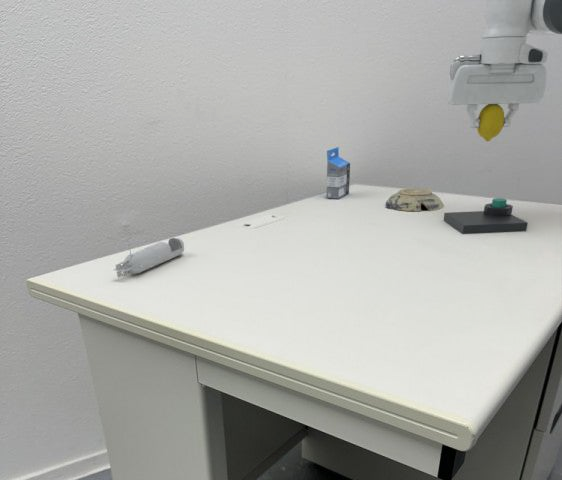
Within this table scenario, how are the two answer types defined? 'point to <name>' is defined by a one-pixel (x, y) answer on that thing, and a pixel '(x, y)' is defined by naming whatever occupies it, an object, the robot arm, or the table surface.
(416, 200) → the decorative bowl
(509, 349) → the table surface
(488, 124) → the lemon
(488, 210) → the dark grey button base
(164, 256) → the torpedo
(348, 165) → the ink cartridge box
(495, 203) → the scale button
